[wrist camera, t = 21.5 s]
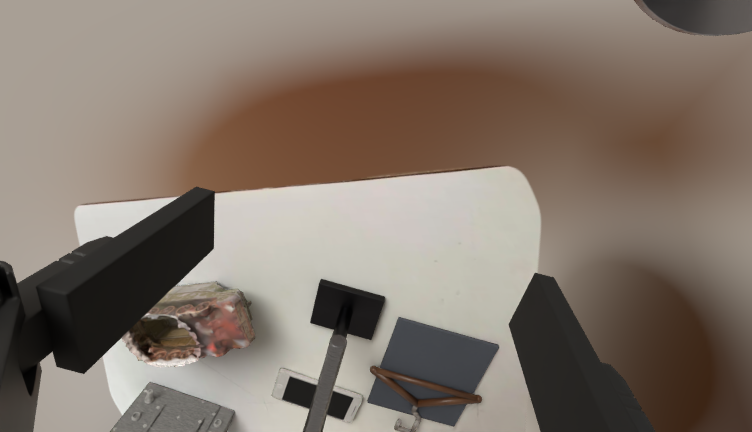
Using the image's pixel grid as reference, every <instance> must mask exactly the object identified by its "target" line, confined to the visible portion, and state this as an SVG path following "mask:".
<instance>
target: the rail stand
mask: <svg viewBox="0 0 752 432" xmlns="http://www.w3.org/2000/svg"><path fill="white" fill-rule="evenodd" d="M384 301H385V297H384V296H380V295H377V294H373V293H369V292H366V291H362V290H359V289H355V288H352V287H348V286H345V285H341V284H337V283H334V282H330V281H327V280H323V279H321V280H320V283H319V287H318V291H317V295H316V300H315V304H314V308H313V313H312V317H311V321H310V323H312V324H316V325H319V326H323V327H326V328H330V329H333V330H334V331H333V335H332V337H331V339H330V342H329V346H328V350H327V354H326V357H325V361H324V364H323V367H322V371H321V374H320V377H319V380H318V384H317V387H316V390H315V393H314V397H313V400H312V403H311V407H310V410H309V413H308V416H307V420H306V423H305V426H304V429H303V432H323V428H324V424H325V420H326V416H327V412H328V408H329V404H330V400H331V396H332V392H333V389H334V385H335V382H336V378H337V375H338V372H339V368H340V365H341V362H342V358H343V355H344V352H345V348H346V345H347V340H346V338H347V334H351V335H355V336H358V337H362V338H366V339H369V340H371V339H372V336H373V334H374V331H375V328H376V325H377V322H378V319H379V316H380V313H381V310H382V307H383V304H384Z"/></svg>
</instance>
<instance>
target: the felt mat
mask: <svg viewBox="0 0 752 432" xmlns="http://www.w3.org/2000/svg"><path fill="white" fill-rule="evenodd" d="M498 348H499V346H498V345H497V344H493V343H490V342H486V341H483V340H479V339H475V338H472V337H468V336H465V335H461V334H458V333H454V332H451V331H447V330H443V329H440V328H436V327H433V326H429V325H426V324H422V323H419V322H415V321H411V320H408V319H404V318H401V317H399V318H398V320H397V323H396V326H395V328H394V331H393V334H392V337H391V339H390V342H389V345H388V347H387V350H386V353H385V355H384V358H383V361H382V363H381V366H380V368H382V369H385V370H389V371H393V372H396V373H400V374H403V375H407V376H410V377H414V378H418V379H421V380H425V381H428V382H432V383H435V384H439V385H443V386H446V387H450V388H453V389H457V390H460V391H464V392H467V393H471V394H473V392H474V391H475V389H476V387H477V385H478V384H479V382H480V380H481V378H482V376H483V375H484V373H485V371H486V369H487V368H488V366H489V364H490V362H491V361H492V359H493V357H494V355H495V354H496V352H497V350H498ZM391 379H392V380H394V381H395V382H396V383H397V384H399V385H400V386H401V387H403V388H404V389H405V390H406V391H408V392H409V393H410V394H411V395H413V396H414V397H415V398H416V399H430V398H443V397H456V396H454V395H450V394H447V393H443V392H440V391H436V390H433V389H429V388H425V387H422V386H418V385H415V384H411V383H408V382H404V381H400V380H397V379H393V378H391ZM368 403H371V404H374V405H378V406H382V407H385V408H389V409H392V410H396V411H400V412H403V413H407V414H410V415H413V414H412V412H411V409H412V407H413V405H412V404H411V403H410V402H408V401H407V400H406V399H404V398H403V397H402V396H401V395H399V394H398V393H397V392H395V391H394V390H393V389H392V388H390V387H389V386H388V385H386V384H385V383H384V382H383V381H381V380H380V379H379V378H377V377H376V379H375V382H374V385H373V387H372V390H371V393H370V395H369V398H368ZM466 405H467V404H458V405H444V406H431V407H418V408H417V410H416V411H417V412H418V414H419V415H420V416H421V418H425V419H428V420H432V421H435V422H439V423H443V424H446V425H450V426H453V427H454V426H455V424H456V422H457V421H458V419H459V417H460V415H461V414H462V412H463V410H464V408H465V406H466Z"/></svg>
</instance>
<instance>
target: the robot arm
mask: <svg viewBox="0 0 752 432" xmlns="http://www.w3.org/2000/svg"><path fill="white" fill-rule="evenodd" d="M214 200H215V191H211V190H207V189H203V188H199V187H195V188H193V189H192V190H190V191H189V192H187V193H185V194H184V195H182V196H180V197H179V198H177V199H176V200H174V201H172V202H171V203H169V204H168V205H166V206H164V207H163V208H161V209H160V210H158V211H156V212H155V213H153V214H151V215H150V216H148V217H147V218H145V219H143V220H142V221H140V222H139V223H137V224H135V225H134V226H132V227H131V228H129V229H127V230H126V231H124V232H123V233H121V234H119V235H118V236H116V237H114V238H112V237H108V236H106V237H103V238H99V239H96V240H93V241H90V242H87V243H85V244H84V245H82V246H80V247H79V248H77V249H75V250H74V251H72V253H71V254H70V253H69V254H67V255H65V256H63V257H62V258H60V259H59V261H55V262H53V263H51V264H50V265H48V266H47V267H45V268H43V269H41V270H39V271H38V272H36V273H34V274H33V275H31V276H29V277H27V278H26V279H24V280H22V281H21V282H19V283H16V279H15V276H14V272H13V269H12V266H11V265H9V264H8V263H6V262H4V261H0V432H33V429H34V421H35V414H36V407H37V400H38V393H39V386H40V378H41V372H42V370H41V366H40V361H41V360H42V359H44V358H45V357H46V356H47V355H49V354H50V353H51V352H52V351H53V355H54V359H55V362H56V366H57V367H60V368H63V369H67V370H71V371H75V372H78V373H83V374H84V373H85V372H86V371H87V370H88V369H90V368H91V367H92V366H93V365H94V364H95V363H96V362H97V361H98V360H99V359H100V358H101V357H102V356H103V355H104V354H105V353H106V352H107V351H108V350H109V349H110V348H111V347H112V346H113V345H114V344H115V343H116V342H117V341H119V340H120V339H121V338H122V337H123V336H124V335H125V334H126V333H127V332H128V331H129V330H130V329H131V328H132V327H133V326H134V325H135V324H136V323H137V322H138V321H139V320H140V319H141V318H142V317H143V316H144V315H145V314H146V313H148V312H149V311H150V310H151V309H152V308H153V307H154V306H155V305H156V304H157V303H158V302H159V301H160V300H161V299H162V298H163V297H164V296H165V295H166V294H167V293H168V292H169V291H170V290H171V289H172V288H173V287H174V286H175V285H177V284H178V283H179V282H180V281H181V280H182V279H183V278H184V277H185V276H186V275H187V274H188V273H189V272H190V271H191V270H192V269H193V268H194V267H195V266H196V265H197V264H198V263H199V262H200V261H201V260H202V259H203V258H204V257H206V256H207V255H208V254H209V253H210V252H211V251H212V250H213V249H214ZM509 327H510V331H511V334H512V337H513V341H514V344H515V347H516V351H517V354H518V357H519V361H520V364H521V367H522V371H523V374H524V377H525V381H526V384H527V388H528V391H529V394H530V397H531V401H532V404H533V408H534V411H535V414H536V418H537V421H538V424H539V428H540V431H541V432H655V430H654V428H653V427H652V425H651V423H650V422H649V420H648V418H647V417H646V415H645V413H644V412H643V411H641V406H640V405H639V403H638V401H637V400H636V398H634V395H633V393H632V391H631V390H630V388H629V386H628V385H627V383H626V381H625V380H624V379H623V378H622V377H621V375H619V374H618V372H617V371H616V370H615V369H614V368H613V367H612V366H611V365H609V364H606V363H602V362H600V360H599V358H598V356H597V355H596V353H595V351H594V349H593V348H592V346H591V344H590V342H589V340H588V338H587V337H586V335H585V333H584V331H583V329H582V327H581V326H580V324H579V322H578V320H577V318H576V317H575V315H574V313H573V311H572V310H571V308H570V306H569V304H568V302H567V301H566V299H565V297H564V295H563V293H562V291H561V289H560V288H559V286H558V284H557V282H556V280H555V279H554V278H553V277H550V276H545V275H542V274H538V273H535V274H534V276H533V278H532V280H531V282H530V284H529V286H528V287H527V289H526V291H525V293H524V295H523V297H522V299H521V301H520V303H519V305H518V307H517V309H516V311H515V313H514V315H513V317H512V319H511V321H510V323H509Z"/></svg>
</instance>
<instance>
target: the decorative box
mask: <svg viewBox="0 0 752 432" xmlns="http://www.w3.org/2000/svg"><path fill="white" fill-rule="evenodd" d="M250 305H251V301H249V302H246V300H245V297H244V294H243V292H241V291H240V290H238V289H231V290H224V288H223V287H221V286H219V285H218V283H217V282H211V283H202V284H193V285H184V286H174V287H173V288H172V289H171V290H170V291H169V292H168V293H167V294H166V295H165V296H164V297H163V298H162V299H161V300H160V301H159V302H158V303H157V304H156V305H155V306H154V307H153V308H152V309H151V310H150V311H149V312H148V313H146V314H145V315H144V316H143V317H142V318H141V319H140V320H139V321H138V322H137V323H136V324H135V325H134V326H133V327H132V328H131V329H130V330H129V331H128V332H127V333H126V334H125V335H124V336H123V337H122V341H123V342H125V343H126V347H127V348H129V350H130V352H131V353H133V354H134V355H135V356H136V357H137V359H138V361H144V362H145V363H147V364H149V365H152V366H157V367H165V366H168V367H171V366H172V365H175V366H174V367H177V366H184V365H185V363H187V364H190V363H191V362H192V363H193V362H195V361H197V360H198V359H199V358H200V357H201V358H204V357H206V356H207V355H212V356H215V357H220V356H223V355H225V354H226V353H227V352H228V351H229V350H230V349H233V348H238V349H241V348H242V347H248V346H249V345H250V344H251V343H252V341H253V340H254V339H255V333H254V330H253V327H252V325H251V320H252V315H251V313H250V310H249V306H250Z"/></svg>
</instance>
